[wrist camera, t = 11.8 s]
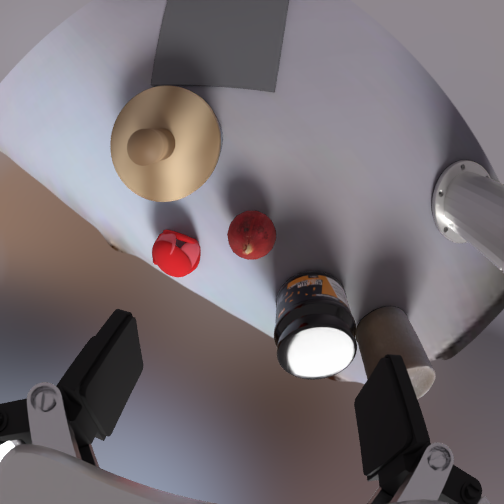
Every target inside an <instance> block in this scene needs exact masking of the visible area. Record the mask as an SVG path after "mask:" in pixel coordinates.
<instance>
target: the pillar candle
mask: <svg viewBox="0 0 504 504" xmlns="http://www.w3.org/2000/svg"><path fill="white" fill-rule="evenodd" d="M355 335H356V340H357V342H358V345H359V349H360V352H361V356H362V360H363V363H364V367H365V371H366V375H367V379H369V377H370V375H371V374H372V372H373V370H374V369H375V367H376V366H377V364H378V362H379V360H380V359H381V358H384V357H385V355H387V354H392V355H401V356H402V358H403V361H404V364H405V366H406V369H407V371H408V374H409V377H410V380H411V382H412V385H413V388H414V391H415V394H416V397H417V399H418V398H420V397H422V396H423V395H424V394H425V393H426V392H428V390H429V389H430V388H431V386H432V384H433V383H434V379H435V378H436V377H435V371H434V369H433V367H432V365H431V363H430V361H429V359H428V357H427V355H426V353H425V351H424V349H423V346H422V344H421V342H420V340H419V338H418V336H417V334H416V332H415V331H414V329H413V327H412V325H411V323H410V321H409V319H408V318H407V316H406V314H405V313H404V312H403V311H402V310H401V309H400V308H397V307H393V306H387V307H382V308H378V309H376V310H374V311H372V312H371V313H369V314H368V315H366V316H365V317H364V318H363V319H362V320H361V321H360V323H359V324H358V326H357V329H356V334H355Z"/></svg>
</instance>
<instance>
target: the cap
mask: <svg viewBox="0 0 504 504" xmlns="http://www.w3.org/2000/svg"><path fill="white" fill-rule="evenodd" d="M176 239H177V240H180V241H183V242H185V244H184V245H183V246H182V247H181V248H179V247H177V246H176V245H175V244H176ZM152 257H153V263H154V264H155V265H158V266H159V268H160V269H161V270H162V271H164V272H165V273H166V274H168V275H170V276H173V277H183V276H185V275H187V274H189V273H191V272H192V271H194V270H195V269H196V268H197V266H198V264H199V261H200V246H199V243H198V241H197V240H196V239H195V238H194V239H193V238H191V237H189V236H186V235H184V234H181V233H178V232H175V231H171V230H164V231H163V233H161V234H160V235H159V236H158V238H157V240H156V241H155V243H154V245H153V248H152Z"/></svg>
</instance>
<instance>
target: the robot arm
mask: <svg viewBox="0 0 504 504" xmlns="http://www.w3.org/2000/svg"><path fill="white" fill-rule="evenodd" d="M432 212H433V218H434V221H435V224H436V226H437V228H438V230H439V231H440V232H441V234H442V235H443V236H445V237H446V238H447V239H448V240H450V241H452V242H455V243H466V242H468V243H469V244H471V245H472V246H473V247H474V248H476V249H477V250H478V251H479V252H480V253H481V254H483V255H484V256H485V257H486V258H487V259H488V260H490V261H491V262H492V263H493V264H494V265H495V266H496V267H497V268H499V269H500V270H501V271H502V272H503V273H504V184H502V183H500V182H497V181H495V180H492V179H491V178H490V176H489V174H488V172H487V171H486V170H485V169H484V168H483V167H482V166H481V165H479V164H478V163H476V162H473V161H469V160H460V161H457V162H454V163H453V164H451V165H450V166H448V167H447V168H446V169H445V170H444V171H443V173H442V174H441V176H440V177H439V179H438V181H437V184H436V186H435V189H434V193H433V199H432ZM142 370H143V360H142V355H141V349H140V344H139V337H138V330H137V324H136V319H135V318H134V317H133V316H132V314H131V313H130V312H127V311H123V310H120V309H116V310H115V311H114V312H113V314H112V315H111V316H110V317H109V319H108V320H107V321H106V323H105V324H104V325H103V327H102V328H101V329H100V330H99V332H98V333H97V335H96V336H94V337H92V338H91V339H90V340H89V341H88V342H87V344H86V345H85V346H84V348H83V349H82V351H81V352H80V353H79V355H78V356H77V357H76V359H75V360H74V362H73V363H72V364H71V366H70V367H69V369H68V370H67V371H66V373H65V374H64V376H63V377H62V378H61V380H60V382H59V383H58V384H57V386H55V385H53V384H51V383H39V384H37V385H35V386H34V387H32V388H31V390H30V391H29V393H28V395H27V399H23V400H17V401H12V402H8V403H2V404H0V504H216V503H211V502H205V501H201V500H196V499H191V498H187V497H183V496H179V495H175V494H171V493H168V492H164V491H161V490H158V489H154V488H151V487H148V486H145V485H142V484H139V483H136V482H134V481H131V480H128V479H126V478H123V477H120V476H117V475H115V474H113V473H110V472H108V471H105V470H103V469H101V468H100V467H99V465H98V462H97V459H96V457H95V454H94V451H93V448H92V445H91V443H92V442H93V440H94V438H95V437H96V438H98V439H101V440H103V441H104V440H105V438H106V436H110V435H111V434H112V432H113V430H114V428H115V425H116V423H117V421H118V419H119V417H120V415H121V413H122V411H123V409H124V407H125V405H126V402H127V400H128V398H129V396H130V394H131V392H132V390H133V388H134V386H135V384H136V382H137V380H138V378H139V376H140V374H141V372H142ZM354 406H355V413H356V419H357V426H358V433H359V440H360V446H361V455H362V464H363V472H364V475H366V476H367V480H368V481H373V480H379V485H380V486H379V488H378V489H377V490H376V492H375V493H374V495H373V496H372V497H371V499H370V500H369V501H368V503H367V504H490V502H489V501H488V500H487V498H486V497H485V496H483V497H481V494H482V488H481V484H480V483H479V481H478V480H477V479H476V478H474V477H472V476H471V475H469V474H467V473H466V472H464V471H462V470H461V469H459V468H458V467H456V466H454V465H453V462H454V457H453V453H452V451H451V450H450V448H449V447H448V446H446V445H445V444H442V443H433V444H431V443H430V438H429V435H428V431H427V428H426V425H425V422H424V418H423V415H422V412H421V409H420V406H419V403H418V400H417V397H416V394H415V391H414V388H413V385H412V382H411V380H410V377H409V374H408V371H407V369H406V366H405V364H404V361H403V358H402V356H401V355H392V354H387V355H385V357H384V358H381V359H380V360H379V362H378V364H377V366H376V367H375V369H374V370H373V372H372V374H371V375H370V377H369V379H368V380H367V382H366V383H365V385H364V386H363V388H362V389H361V391H360V393H359V394H358V396H357V397H356V399H355V404H354Z"/></svg>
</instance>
